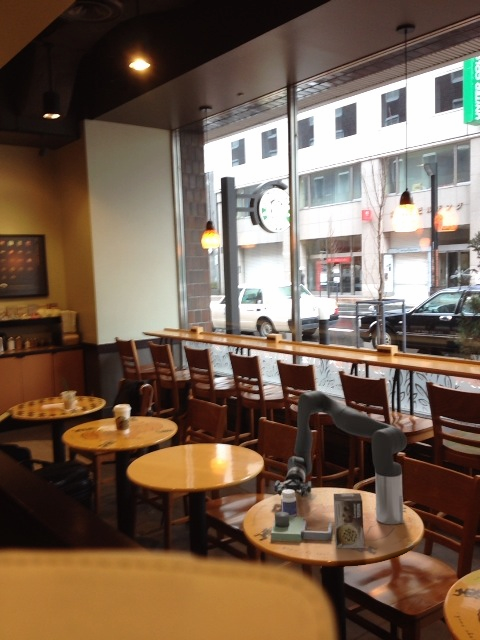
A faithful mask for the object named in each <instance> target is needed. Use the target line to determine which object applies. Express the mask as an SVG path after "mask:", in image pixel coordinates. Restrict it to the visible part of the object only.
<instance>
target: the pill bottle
mask: <svg viewBox="0 0 480 640" xmlns="http://www.w3.org/2000/svg"><path fill="white" fill-rule="evenodd" d="M297 506H298V505H297V497H296V492H295V491H294V490H291V489H286V490H283V491H282V494H281V498H280V509H281V510H280V512H286V513H288V514H289V517H298V509H297V508H298V507H297Z"/></svg>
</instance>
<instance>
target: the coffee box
mask: <svg viewBox="0 0 480 640" xmlns="http://www.w3.org/2000/svg"><path fill="white" fill-rule="evenodd" d="M363 508H364V507H363V498H362V494H361V493H360V492H359V493H355V492H354V493H333V509H334V510H333V512H334V513H333V515H334V541H335V547H336V549H365V533H364V510H363Z"/></svg>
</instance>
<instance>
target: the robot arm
mask: <svg viewBox="0 0 480 640" xmlns="http://www.w3.org/2000/svg"><path fill="white" fill-rule="evenodd" d="M318 413H323V414H326V415H328V416H330V417H331V419H332V422H333V424H334V426H336V427H337V428H338V429H340V430H342V431H343V432H345V433H347V434H350V435H352V436H356V437H363V438H369V439H371V452H372V454H371V455H372V464H373V466H374V473H375V508H376V509H375V513H376V514H375V515H376V516H375V517H376V521H378V522H379V523H381V524H384V525H398V524H404V497H403V472H402V471H403V470H402V469H403V468H402V465H401V464H400V463H398V462H395V461H394V458H393V454H398V453H400V452H402V451H403V450H404V449H405V448H407V444H408V438H407V435H406V434H405V433H404V432H403V431H402V430H401V429H400V428H399V427H397V426H394V425H391V424H388V423H385V422H382V421H380V420H376V419H375V418H373V417H371V416H369V415H366V413H365V414H364V413H362V412H360V411H358V410H357V409H354V408H352V407H351V406H348V405H346V404H343V403H341V402H340V401H337V400H336V399H334V398H332V397H331V396H329V395H328V394H326V393H325V392H323V391H321V390H311V391H307V392H303V393H301V394H300V395H299V397H298V400H297V420H296V421H297V424H296V425H297V430H296V431H297V432H296V438H295V444H294V454H295V455H296V456H295V455H293V456H290V458H288V460H287V464H286V465H287V474H286V477H285V479H284V481H283V482H281V481H280V480H276V481H275V483H274V486H273V488H274V489H273V490H274V492H276V493H277V495H278V496H282V491H283V490H286V489H291V490H294V491H295V493H296V492H299V493H301V494H300V495H301V497H304V496H306V493H309V494H311V493H312V481H309V480H308V481H307V482H306V477H307V476H308V475H310V474H311V472H312V467H313V466H312V465H313V464H312V459H311V457H312V456H311V454H312V453H311V452H312V446H313V441H314V440H313V439H314V437H313V436H314V435H313V432H312V430H311V428H310V425H309V420H310V417H311V415H314V414H318Z"/></svg>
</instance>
